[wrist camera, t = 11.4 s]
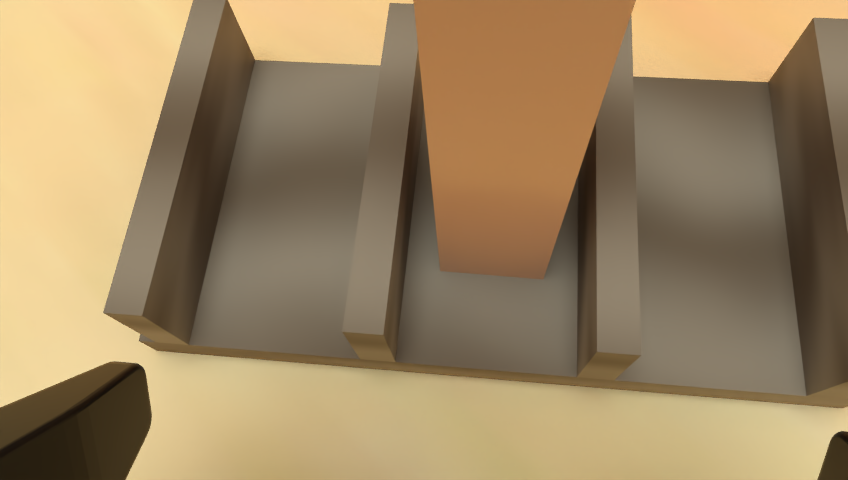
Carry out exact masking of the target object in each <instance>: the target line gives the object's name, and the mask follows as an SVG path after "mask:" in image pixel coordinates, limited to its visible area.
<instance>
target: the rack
mask: <svg viewBox="0 0 848 480" xmlns="http://www.w3.org/2000/svg"><path fill="white" fill-rule="evenodd" d="M103 313H105V314H106V315H108V316H110V317H112V318H113V319H115V320H117V321H119V322H121V323H122V324H124V325H126V326H128V327H129V328H131V329H133V330H135V331H136V332H138V333H140V334H141V335H140V338H139V341H140V342H142V343H144V344H146V345H148V346H149V347H151V348H153V349H155V350H158V351H170V352H182V353H193V354H205V355H217V356H229V357H241V358H253V359H265V360H277V361H289V362H301V363H312V364H324V365H336V366H348V367H360V368H372V369H384V370H396V371H408V372H420V373H432V374H443V375H455V376H467V377H479V378H491V379H503V380H515V381H527V382H539V383H551V384H562V385H574V386H586V387H598V388H610V389H622V390H634V391H646V392H658V393H670V394H681V395H693V396H705V397H717V398H729V399H741V400H753V401H765V402H777V403H789V404H800V405H812V406H824V407H836V408H844V407H847V406H848V19H831V18H813V19H812V21H811V22H810V23H809V25H808V26H807V28H806V29H805V31H804V32H803V33H802V35H801V36H800V38H799V39H798V41H797V42H796V43H795V45H794V46H793V48H792V49H791V51H790V52H789V53H788V55H787V56H786V58H785V59H784V61H783V62H782V63H781V65H780V66H779V68H778V69H777V71H776V72H775V73H774V75H773V76H772V78H771V79H770V81H769V82H747V81H723V80H700V79H677V78H654V77H633V58H632V25H631V16H630V19H629V22H628V25H627V28H626V31H625V34H624V37H623V40H622V43H621V47H620V50H619V53H618V56H617V59H616V62H615V65H614V68H613V71H612V74H611V77H610V80H609V83H608V86H607V89H606V92H605V95H604V98H603V101H602V104H601V107H600V110H599V113H598V116H597V119H596V122H595V125H594V128H593V131H592V134H591V137H590V140H589V143H588V146H587V149H586V152H585V155H584V158H583V161H582V164H581V167H580V170H579V173H578V176H577V179H576V182H575V185H574V188H573V191H572V194H571V197H570V200H569V203H568V206H567V209H566V212H565V215H564V218H563V221H562V224H561V227H560V230H559V233H558V236H557V239H556V243H555V246H554V249H553V252H552V255H551V258H550V261H549V264H548V267H547V270H546V273H545V276H544V279H531V278H519V277H506V276H494V275H482V274H470V273H458V272H446V271H440V264H439V253H438V243H437V233H436V223H435V213H434V203H433V193H432V183H431V173H430V162H429V152H428V142H427V132H426V122H425V112H424V102H423V92H422V81H421V71H420V61H419V51H418V41H417V31H416V21H415V11H414V4H400V3H390V4H389V11H388V18H387V25H386V32H385V39H384V46H383V53H382V60H381V66H376V65H353V64H330V63H307V62H284V61H261V60H255V59H254V57H253V55H252V52H251V50H250V48H249V46H248V44H247V41H246V39H245V37H244V35H243V33H242V31H241V28H240V26H239V24H238V22H237V20H236V17H235V15H234V13H233V11H232V9H231V7H230V4H229V2H228V0H193V3H192V7H191V10H190V14H189V17H188V21H187V24H186V28H185V31H184V35H183V38H182V41H181V45H180V48H179V52H178V55H177V59H176V62H175V66H174V69H173V73H172V76H171V80H170V83H169V87H168V90H167V94H166V97H165V100H164V104H163V107H162V111H161V114H160V118H159V121H158V125H157V128H156V132H155V135H154V139H153V142H152V146H151V149H150V153H149V156H148V159H147V163H146V166H145V170H144V173H143V177H142V180H141V184H140V187H139V191H138V194H137V198H136V201H135V205H134V208H133V212H132V215H131V218H130V222H129V225H128V229H127V232H126V236H125V239H124V243H123V246H122V250H121V253H120V257H119V260H118V264H117V267H116V271H115V274H114V277H113V281H112V284H111V288H110V291H109V295H108V298H107V302H106V305H105V309H104V312H103Z"/></svg>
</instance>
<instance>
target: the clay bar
mask: <svg viewBox="0 0 848 480" xmlns="http://www.w3.org/2000/svg"><path fill="white" fill-rule="evenodd" d="M413 1H414V11H415V21H416V31H417V41H418V51H419V61H420V71H421V81H422V92H423V102H424V112H425V122H426V132H427V142H428V152H429V162H430V173H431V183H432V193H433V203H434V213H435V223H436V233H437V243H438V253H439V264H440V271H446V272H458V273H470V274H482V275H494V276H506V277H519V278H531V279H544V276H545V273H546V270H547V267H548V264H549V261H550V258H551V255H552V252H553V249H554V246H555V243H556V239H557V236H558V233H559V230H560V227H561V224H562V221H563V218H564V215H565V212H566V209H567V206H568V203H569V200H570V197H571V194H572V191H573V188H574V185H575V182H576V179H577V176H578V173H579V170H580V167H581V164H582V161H583V158H584V155H585V152H586V149H587V146H588V143H589V140H590V137H591V134H592V131H593V128H594V125H595V122H596V119H597V116H598V113H599V110H600V107H601V104H602V101H603V98H604V95H605V92H606V89H607V86H608V83H609V80H610V77H611V74H612V71H613V68H614V65H615V62H616V59H617V56H618V53H619V50H620V47H621V43H622V40H623V37H624V34H625V31H626V28H627V25H628V22H629V19H630V16H631V13H632V10H633V7H634V4H635V1H636V0H413Z"/></svg>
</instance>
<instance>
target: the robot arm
mask: <svg viewBox="0 0 848 480" xmlns="http://www.w3.org/2000/svg"><path fill="white" fill-rule="evenodd" d="M151 417H152V414H151V406H150V399H149V392H148V386H147V379H146V374H145V370H144V369H143V367H142V366H141V365H139V364H136V363H126V362H115V361H114V362H109V363H106V364H104V365H101V366H99V367H96V368H94V369H92V370H89V371H87V372H85V373H82V374H80V375H77V376H75V377H73V378H70V379H68V380H65V381H63V382H61V383H58V384H56V385H53V386H51V387H49V388H46V389H44V390H41V391H39V392H37V393H34V394H32V395H29V396H27V397H25V398H22V399H20V400H17V401H15V402H13V403H10V404H8V405H5V406H3V407H1V408H0V480H126V478H127V475H128V473H129V471H130V469H131V467H132V465H133V463H134V461H135V459H136V457H137V455H138V453H139V451H140V448H141V446H142V444H143V442H144V440H145V438H146V436H147V434H148V431H149V429H150V425H151ZM818 480H848V432H845V431H841V432H838V433H836V434H835V435H834V436H833V437H832V439H831V441H830V444H829V447H828V450H827V453H826V456H825V459H824V462H823V465H822V468H821V471H820V474H819V477H818Z"/></svg>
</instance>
